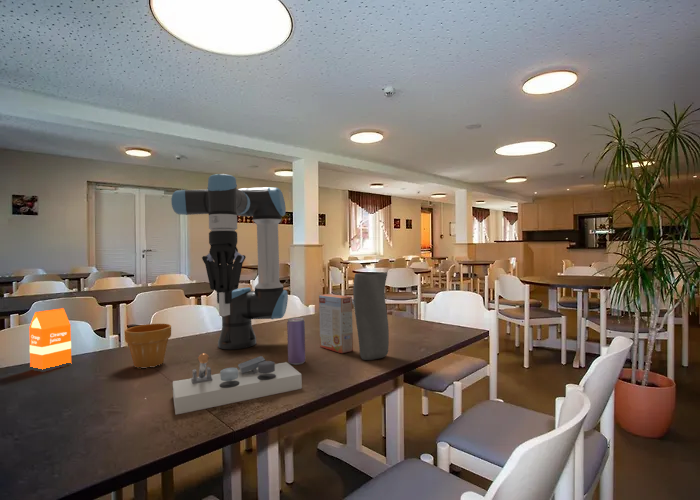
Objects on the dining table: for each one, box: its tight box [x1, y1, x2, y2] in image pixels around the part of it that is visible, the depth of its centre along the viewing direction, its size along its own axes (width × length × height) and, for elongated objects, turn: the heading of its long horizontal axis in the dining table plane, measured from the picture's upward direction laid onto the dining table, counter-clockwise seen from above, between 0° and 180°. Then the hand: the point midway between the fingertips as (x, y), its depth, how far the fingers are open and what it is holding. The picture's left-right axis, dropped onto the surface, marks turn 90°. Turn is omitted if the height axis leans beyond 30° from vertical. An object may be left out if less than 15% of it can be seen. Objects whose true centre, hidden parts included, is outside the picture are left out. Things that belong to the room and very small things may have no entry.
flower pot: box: [124, 323, 172, 367], centre depth 128 cm, size 14×14×13 cm
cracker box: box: [318, 293, 354, 354], centre depth 143 cm, size 14×6×21 cm, turn 40°
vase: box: [352, 271, 390, 361], centre depth 131 cm, size 12×12×30 cm
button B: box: [219, 367, 239, 381], centre depth 97 cm, size 4×4×2 cm
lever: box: [197, 352, 210, 378], centre depth 97 cm, size 3×3×10 cm
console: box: [172, 361, 303, 416], centre depth 102 cm, size 13×32×7 cm, turn 118°
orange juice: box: [28, 307, 72, 370], centre depth 128 cm, size 8×9×20 cm
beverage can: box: [286, 317, 307, 366], centre depth 127 cm, size 6×6×15 cm
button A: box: [258, 360, 276, 373], centre depth 102 cm, size 4×4×2 cm
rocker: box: [237, 355, 267, 373], centre depth 106 cm, size 4×7×1 cm, turn 118°
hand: (224, 315), depth 103 cm, fingers closed
